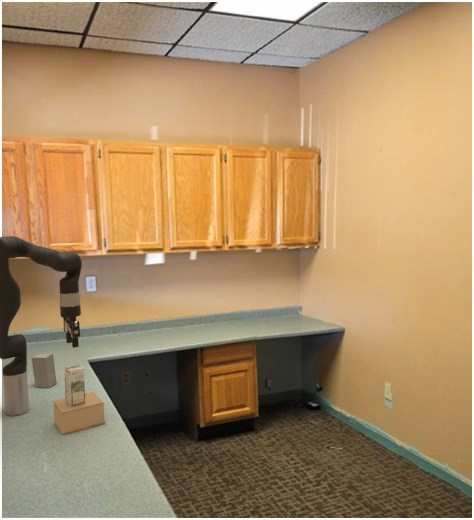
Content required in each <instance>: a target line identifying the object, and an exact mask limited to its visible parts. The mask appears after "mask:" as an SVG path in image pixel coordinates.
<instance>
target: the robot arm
mask: <svg viewBox="0 0 474 520" xmlns="http://www.w3.org/2000/svg"><path fill="white" fill-rule="evenodd" d="M16 258H29V259H31V261H32V262H34V263H36V264H38V265H41V266H44V267H49V268H50V269H53V271H56V272H60V273H65V276H64V277H62V278H61V279H59V283H58V285H59V313H60V317H61V318H63V319H62V320H63V332H64V333H65V341H66V344H71V345H72V346H71V347H72V348H74V349H75V348H79V346H80V345H79V337H81V330H80V321H79V320H77V318H78V317H80V316H81V315H82V311H81V310H82V307H81V295H80V289H79V288H80V286H79V281H80V277H81V276H80V275H81V271H82V267H83V264H82V258H81V257H80V254H78V253H76V252H68V253H67V252H66V253H60V252H59V251H58V250H57V249H56V250H55V249H53V248H48V247H44V246H39V245H36V244H34V243H32V242H29V241H27V240H25V239H22V238H20V237H19V236H14V235H13V236H12V235H11V236H0V360H7V359H13V360H12V361H10V362H9V363H7V364H6V365H4V366H3V368H2V381H3V382H2V383H3V395H4V410H5V411H4V412H5V413H4V414H5V415H6V416H9V417H13V416H14V417H16V416H20V415H24V414H26V413H28V412H29V411H30V398H29V386H28V385H29V384H28V369H27V367H28V359H27V358H28V357H27V355H28V345H27V340H26V337H25V335H24V334H22V333H20V334H19V333H16V334H13V335H9V330H10V327H11V323H12V322H13V320H14V318H15V317H16V315H17V314H18V311H19V310H20V308H21V305H22V298H21V289H20V288H21V287H19V284H18V283H17V281H16V280H15V278H14V277H13V275H12V274H11V271H10V265H9V259H11V260H12V259H16Z"/></svg>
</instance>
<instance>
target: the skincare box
mask: <svg viewBox="0 0 474 520" xmlns="http://www.w3.org/2000/svg"><path fill="white" fill-rule="evenodd" d="M31 363H32V364H31V365H32V372H33V379H34V387H35V388H39V387H40V389H42V388H43V389H45V388H46V389H49V388H51V387H53V386H55V385H57V374H56V367H55V366H56V365H55V359H54V353H38V354H36V355H33V356H32V357H31Z"/></svg>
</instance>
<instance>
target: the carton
mask: <svg viewBox="0 0 474 520" xmlns="http://www.w3.org/2000/svg"><path fill="white" fill-rule="evenodd" d="M53 417H54V424H55V426H56V428H57V429H58V430H59V432H60V433H61V434H62V435H69V434H72V433H75V432H79V431H83V430H86V429H90V428H93V427H98V426H100V425H101V426H102V425H105V423H106V422H105V420H106V419H105V403H104V404H101V405H97V406H93V407H89V408H85V409H81V410H77V411H73V412H69V413H65V414H61V412H60V411H59V410H58V408H57V407H56V405H55V404H54V403H53Z"/></svg>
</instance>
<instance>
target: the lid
mask: <svg viewBox="0 0 474 520" xmlns="http://www.w3.org/2000/svg"><path fill="white" fill-rule="evenodd" d="M52 401H53V402H52V403H53V405H54V404H55V405H56V407H57V408H58V410H59V411H60V412H61V414H65V413H69V412H73V411H77V410H81V409H85V408H89V407H93V406H97V405H101V404H104V405H105V402H104V401H103V400H102V399H101V398H100V397H99V396H98V395H97V394H96V393H95V392H94V391H91V392H88V393H86V392H85V402H84V403H81V404H78V405H74V406H71V405H69V404H68V403H67V402H66V397H65V398H60V399H57V400H52Z"/></svg>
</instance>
